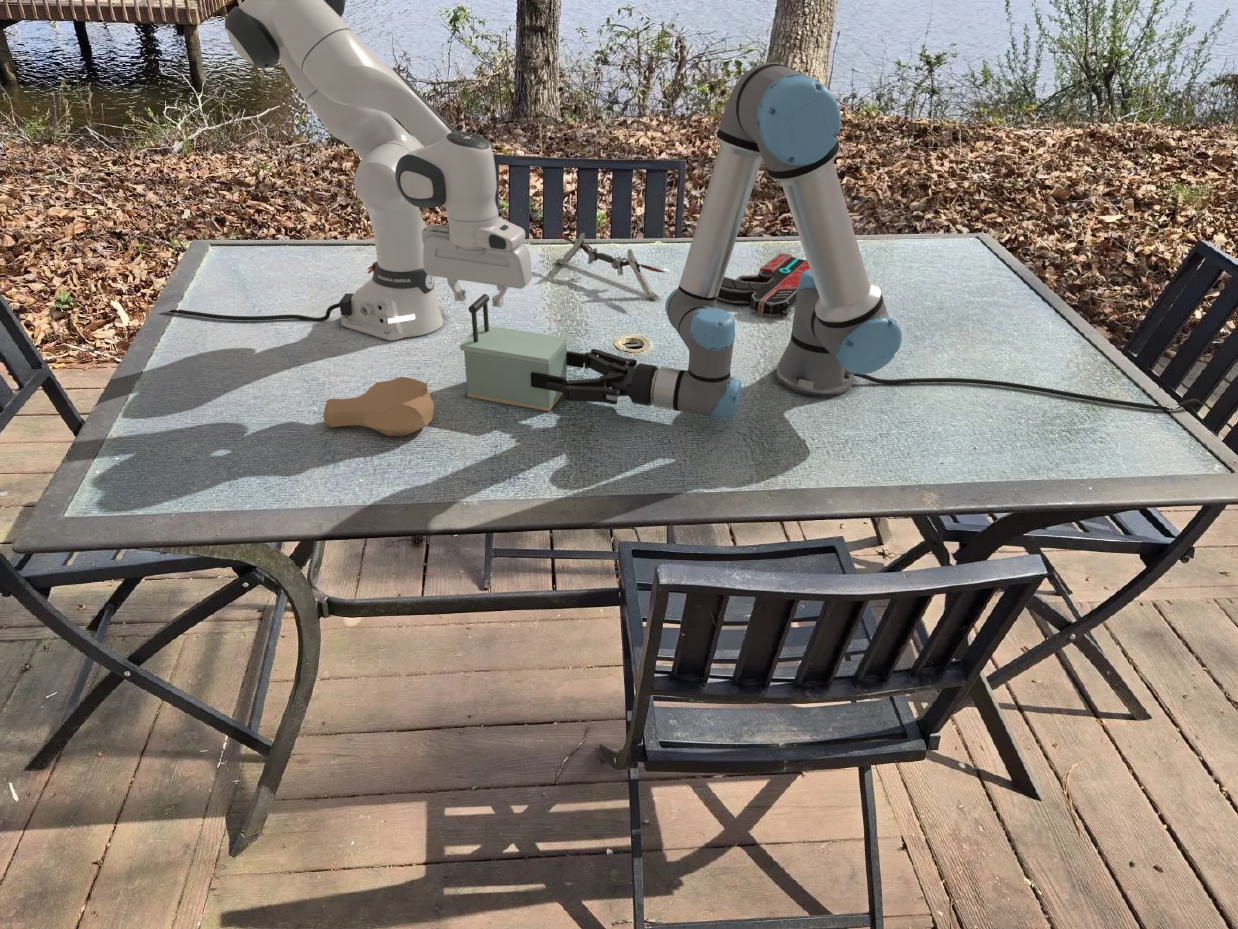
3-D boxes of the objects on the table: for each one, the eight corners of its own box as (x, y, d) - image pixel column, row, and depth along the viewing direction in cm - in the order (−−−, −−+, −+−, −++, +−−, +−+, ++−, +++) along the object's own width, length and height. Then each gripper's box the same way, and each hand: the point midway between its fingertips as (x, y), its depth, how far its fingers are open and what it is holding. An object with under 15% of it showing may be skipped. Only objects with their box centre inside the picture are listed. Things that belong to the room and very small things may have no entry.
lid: (460, 350, 164) (456, 308, 159) (481, 329, 171) (479, 288, 167) (548, 364, 160) (547, 322, 155) (566, 342, 167) (566, 301, 163)
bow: (666, 301, 209) (668, 260, 204) (661, 303, 208) (663, 262, 203) (554, 258, 231) (553, 221, 225) (549, 260, 229) (548, 222, 224)
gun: (708, 284, 207) (784, 305, 199) (760, 245, 229) (831, 262, 221) (706, 302, 209) (781, 323, 201) (758, 261, 231) (828, 278, 223)
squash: (434, 443, 155) (421, 404, 149) (325, 451, 157) (307, 413, 150) (443, 403, 163) (431, 365, 157) (339, 412, 164) (323, 374, 158)
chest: (467, 396, 169) (463, 350, 164) (488, 374, 177) (485, 330, 171) (549, 411, 165) (548, 365, 160) (567, 388, 173) (566, 343, 167)
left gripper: (412, 228, 155) (420, 301, 163) (520, 242, 150) (523, 317, 158) (429, 217, 160) (436, 289, 168) (533, 231, 155) (536, 304, 163)
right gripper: (637, 433, 154) (519, 412, 159) (669, 377, 172) (562, 359, 177) (639, 396, 150) (518, 375, 155) (671, 342, 168) (561, 325, 173)
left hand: (479, 302), depth 163 cm, fingers open, 6 cm apart
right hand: (541, 367), depth 166 cm, fingers closed on chest, 10 cm apart
